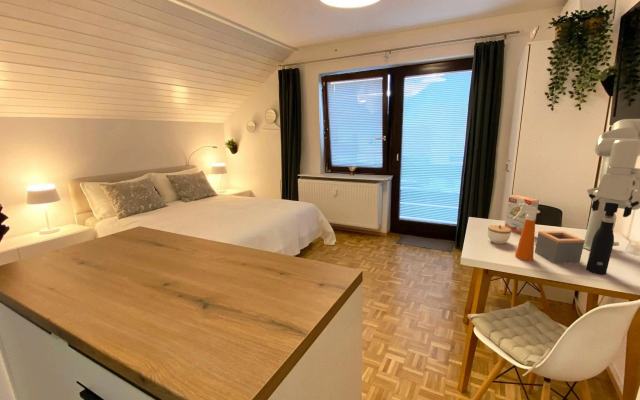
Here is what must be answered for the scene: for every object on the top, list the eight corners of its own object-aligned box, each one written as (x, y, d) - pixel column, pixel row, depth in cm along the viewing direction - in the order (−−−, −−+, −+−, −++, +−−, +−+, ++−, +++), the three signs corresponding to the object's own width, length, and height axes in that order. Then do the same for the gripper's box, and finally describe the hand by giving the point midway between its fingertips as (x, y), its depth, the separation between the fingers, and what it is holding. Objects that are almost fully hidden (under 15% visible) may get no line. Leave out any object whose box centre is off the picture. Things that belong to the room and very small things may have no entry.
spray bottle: (504, 253, 146) (512, 201, 139) (528, 255, 143) (538, 202, 137) (509, 259, 139) (518, 205, 133) (535, 261, 137) (546, 206, 130)
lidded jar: (508, 240, 162) (511, 223, 160) (510, 247, 153) (513, 229, 151) (486, 237, 167) (488, 221, 165) (486, 243, 158) (488, 226, 155)
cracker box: (503, 228, 180) (508, 195, 175) (511, 227, 182) (516, 194, 177) (525, 236, 167) (531, 200, 162) (533, 235, 169) (539, 199, 164)
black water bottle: (596, 267, 130) (611, 201, 123) (610, 274, 124) (628, 205, 117) (581, 268, 130) (596, 201, 123) (595, 275, 124) (612, 205, 117)
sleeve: (558, 252, 147) (563, 231, 144) (579, 263, 135) (584, 240, 132) (534, 252, 147) (538, 231, 144) (553, 263, 135) (558, 240, 132)
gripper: (655, 174, 111) (643, 218, 115) (597, 168, 126) (588, 207, 130) (646, 175, 108) (634, 220, 112) (587, 169, 123) (579, 209, 127)
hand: (609, 213), depth 121 cm, fingers open, 9 cm apart
